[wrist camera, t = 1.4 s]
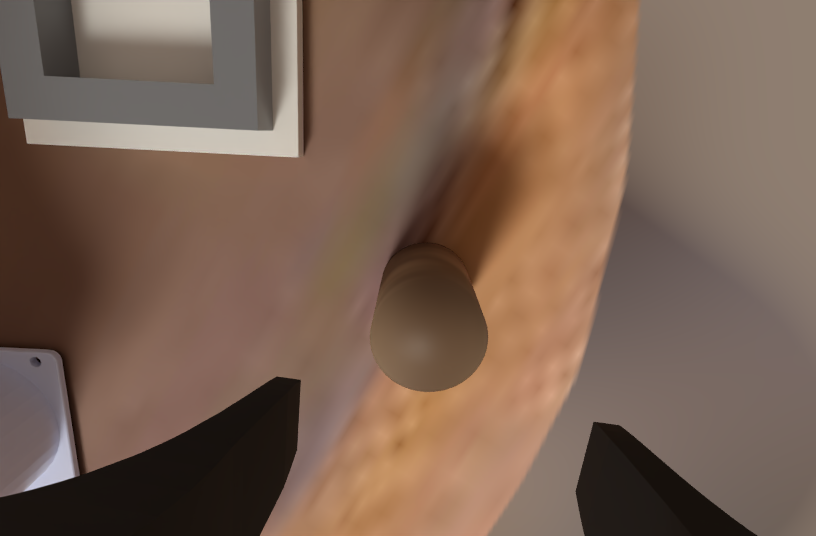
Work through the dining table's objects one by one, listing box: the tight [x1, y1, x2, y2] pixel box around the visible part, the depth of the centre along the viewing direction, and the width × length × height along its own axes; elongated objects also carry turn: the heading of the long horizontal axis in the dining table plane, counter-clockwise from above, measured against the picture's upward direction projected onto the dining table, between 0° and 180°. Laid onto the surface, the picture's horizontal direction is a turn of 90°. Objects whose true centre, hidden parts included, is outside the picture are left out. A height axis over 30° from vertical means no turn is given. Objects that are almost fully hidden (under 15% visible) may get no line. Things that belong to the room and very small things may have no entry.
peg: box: [370, 243, 488, 392], centre depth 20 cm, size 4×4×6 cm
